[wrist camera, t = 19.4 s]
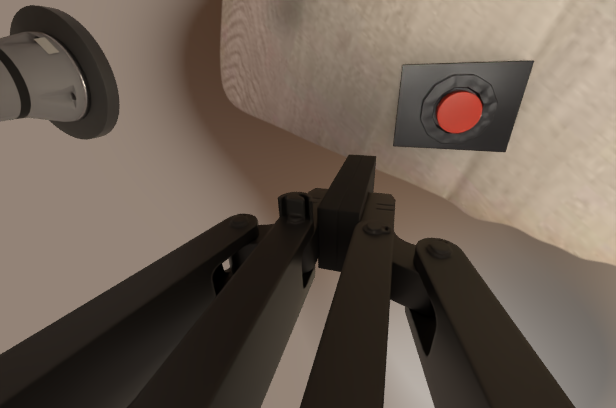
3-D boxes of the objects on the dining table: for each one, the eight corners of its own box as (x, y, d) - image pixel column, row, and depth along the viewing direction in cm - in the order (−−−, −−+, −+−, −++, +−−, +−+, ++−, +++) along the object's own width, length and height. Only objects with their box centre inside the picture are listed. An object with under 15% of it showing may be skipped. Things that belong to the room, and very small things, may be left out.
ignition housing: (393, 141, 35) (392, 150, 32) (403, 64, 31) (402, 64, 28) (499, 147, 32) (510, 157, 28) (526, 60, 28) (542, 60, 24)
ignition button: (432, 129, 30) (433, 132, 28) (439, 90, 28) (441, 91, 26) (473, 130, 29) (476, 134, 27) (483, 90, 27) (487, 91, 25)
